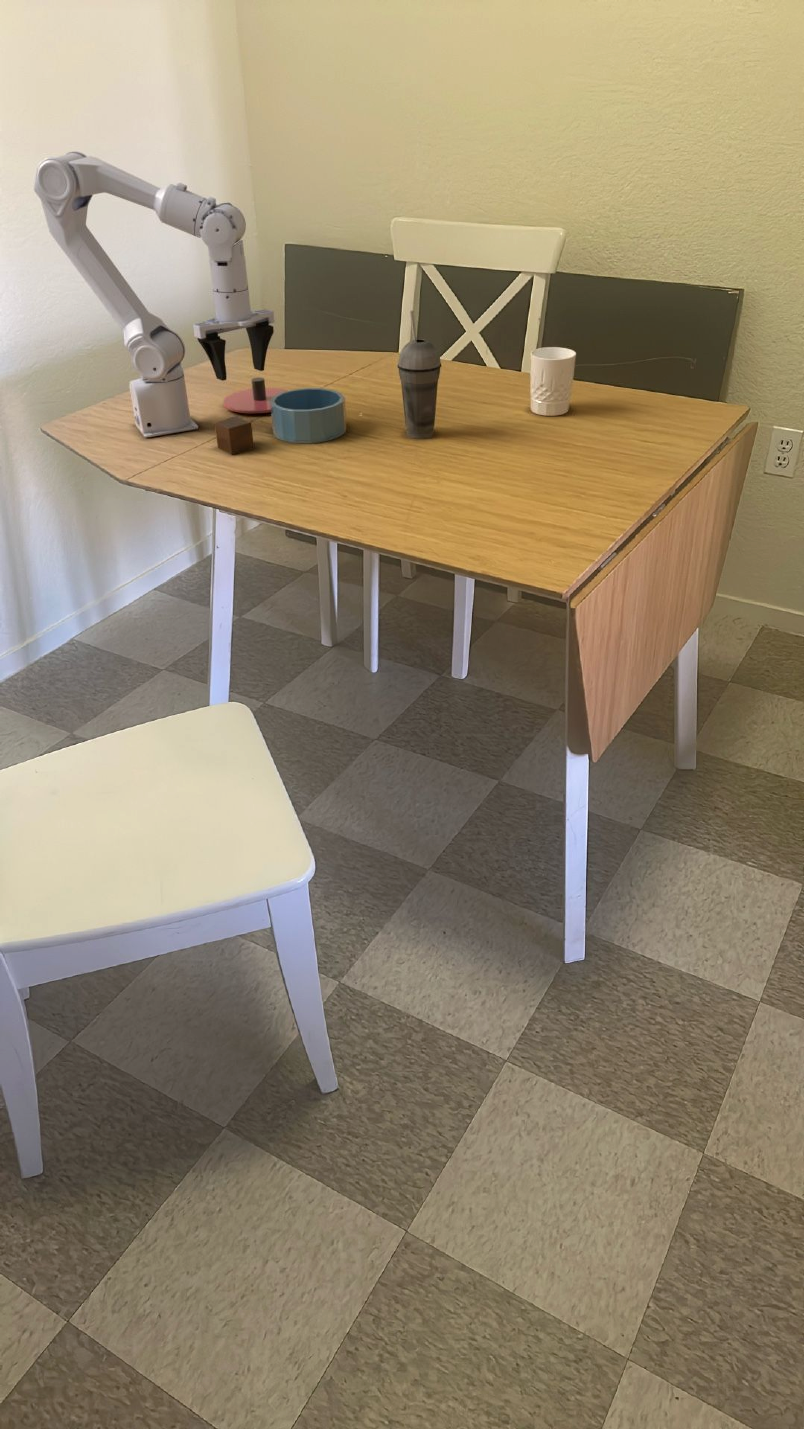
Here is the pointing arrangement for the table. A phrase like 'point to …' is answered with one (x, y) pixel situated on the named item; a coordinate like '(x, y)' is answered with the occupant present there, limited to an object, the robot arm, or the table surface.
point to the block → (234, 435)
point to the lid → (252, 398)
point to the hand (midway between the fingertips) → (240, 374)
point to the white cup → (551, 380)
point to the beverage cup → (419, 385)
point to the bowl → (308, 415)
